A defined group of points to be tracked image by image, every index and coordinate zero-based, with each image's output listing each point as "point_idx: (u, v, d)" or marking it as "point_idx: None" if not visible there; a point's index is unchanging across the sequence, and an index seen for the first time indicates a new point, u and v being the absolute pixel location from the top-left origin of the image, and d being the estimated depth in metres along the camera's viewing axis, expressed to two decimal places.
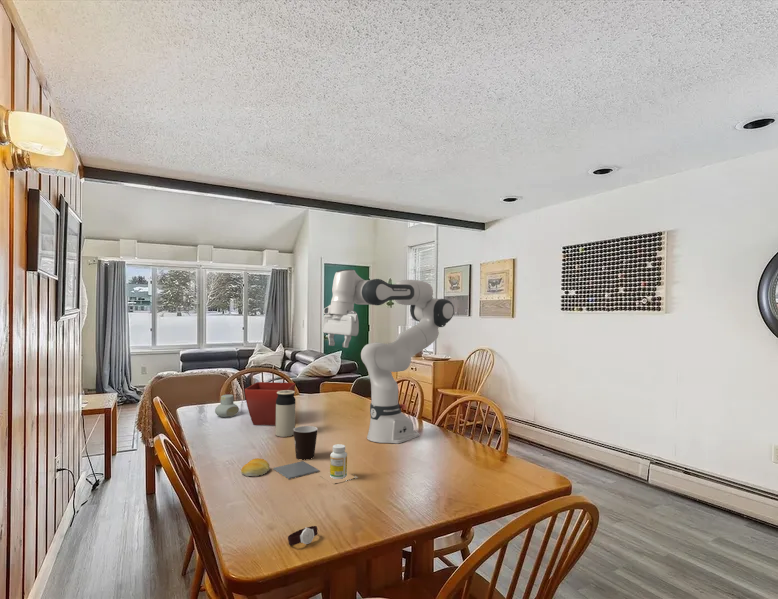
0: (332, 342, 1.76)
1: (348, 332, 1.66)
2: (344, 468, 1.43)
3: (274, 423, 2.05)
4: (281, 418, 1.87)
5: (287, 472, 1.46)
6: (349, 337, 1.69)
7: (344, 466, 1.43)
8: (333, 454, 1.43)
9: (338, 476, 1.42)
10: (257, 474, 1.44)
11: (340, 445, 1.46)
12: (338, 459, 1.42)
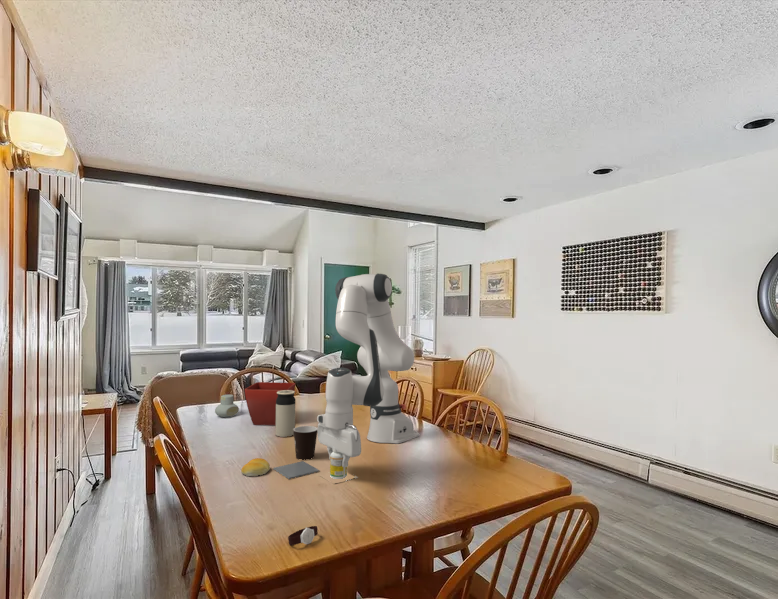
0: None
1: (348, 453, 1.37)
2: (344, 468, 1.43)
3: (274, 423, 2.05)
4: (281, 418, 1.87)
5: (287, 472, 1.46)
6: None
7: None
8: (333, 454, 1.43)
9: (338, 476, 1.42)
10: (257, 474, 1.44)
11: None
12: (338, 459, 1.42)
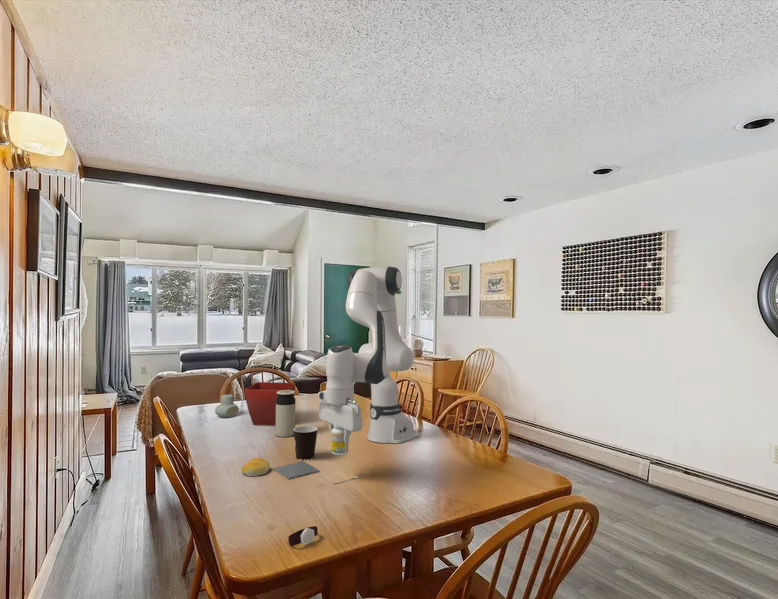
0: None
1: (350, 428, 1.38)
2: (345, 444, 1.44)
3: (274, 423, 2.05)
4: (281, 418, 1.87)
5: (287, 472, 1.46)
6: (349, 430, 1.41)
7: None
8: (334, 430, 1.44)
9: (339, 452, 1.43)
10: (257, 474, 1.44)
11: None
12: (339, 435, 1.43)
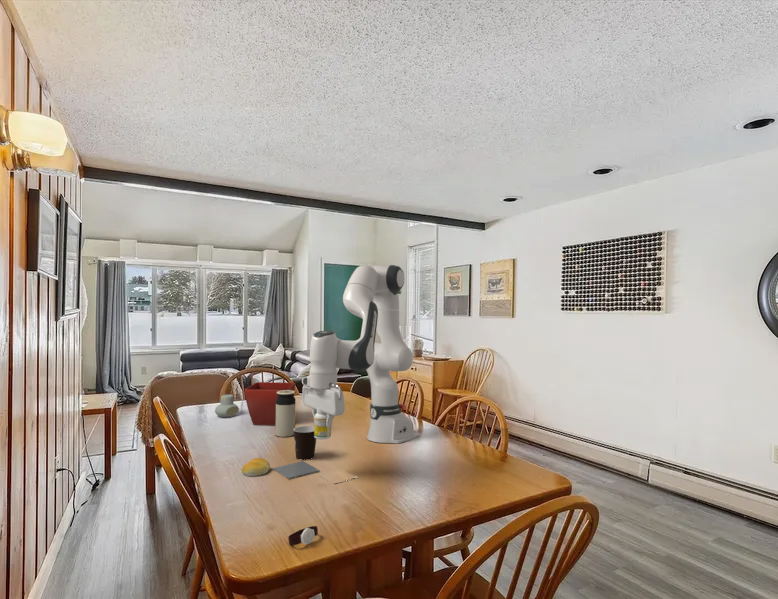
0: None
1: (332, 412, 1.39)
2: (328, 429, 1.45)
3: (274, 423, 2.05)
4: (281, 418, 1.87)
5: (287, 472, 1.46)
6: (332, 415, 1.43)
7: None
8: (317, 415, 1.45)
9: (322, 436, 1.44)
10: (257, 474, 1.44)
11: None
12: (322, 420, 1.44)
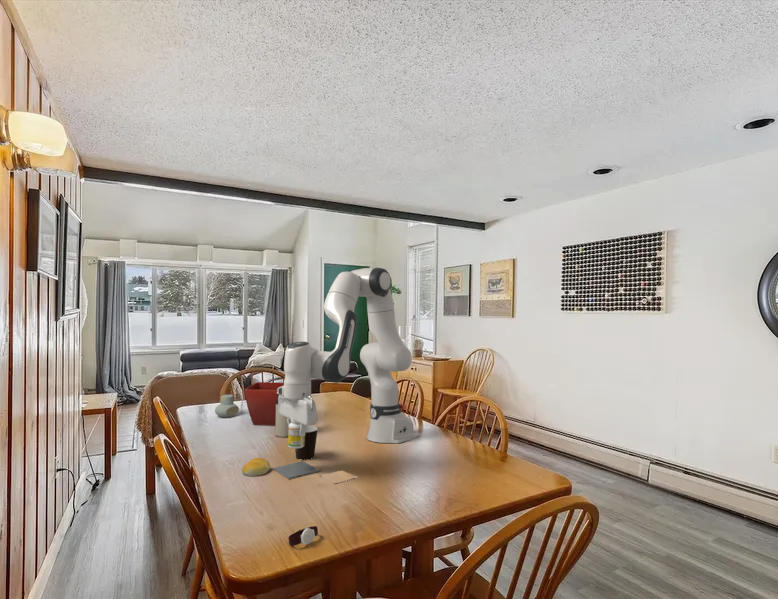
0: None
1: (304, 422, 1.42)
2: (301, 438, 1.48)
3: (274, 423, 2.05)
4: (281, 418, 1.87)
5: (287, 472, 1.46)
6: (305, 424, 1.46)
7: (302, 436, 1.48)
8: (291, 425, 1.48)
9: (295, 446, 1.47)
10: (258, 474, 1.45)
11: None
12: (295, 429, 1.47)
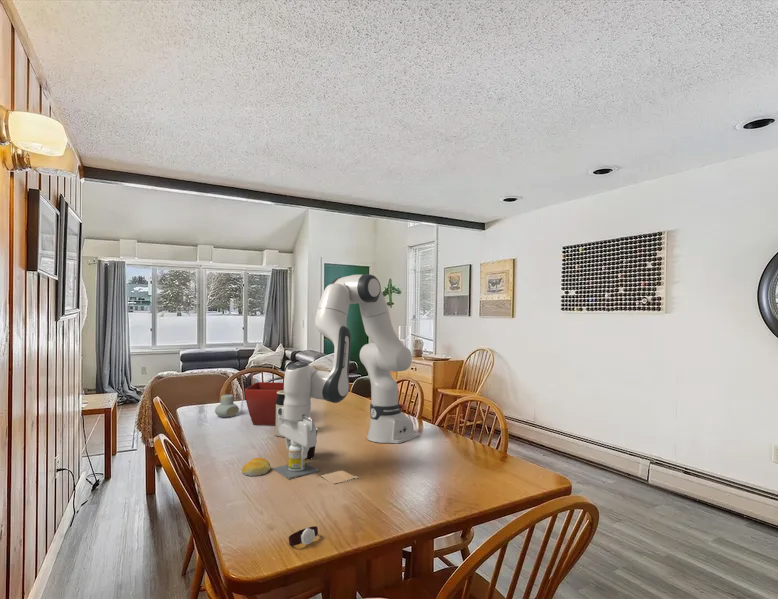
0: None
1: (304, 444, 1.42)
2: (302, 461, 1.48)
3: (274, 423, 2.05)
4: None
5: (287, 472, 1.46)
6: None
7: None
8: (291, 447, 1.48)
9: (296, 468, 1.47)
10: (258, 473, 1.45)
11: None
12: (295, 452, 1.47)
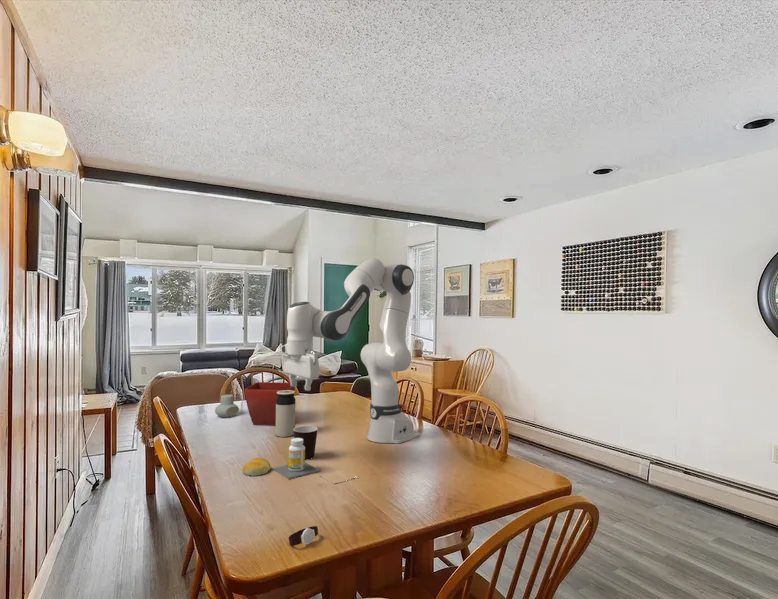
0: (294, 383, 1.61)
1: (307, 375, 1.51)
2: (302, 461, 1.48)
3: (274, 423, 2.05)
4: (281, 418, 1.87)
5: (287, 472, 1.46)
6: (310, 379, 1.53)
7: (302, 458, 1.48)
8: (291, 447, 1.48)
9: (296, 468, 1.47)
10: (258, 473, 1.45)
11: (298, 439, 1.51)
12: (295, 452, 1.47)
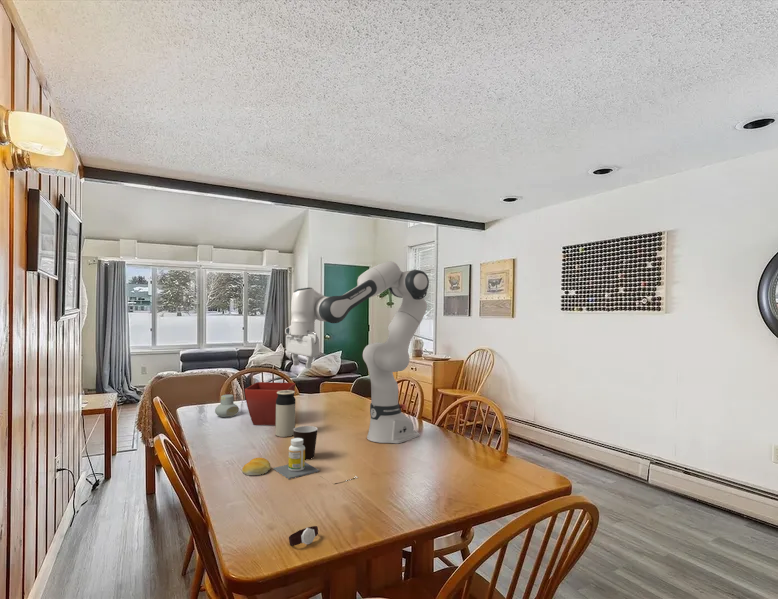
0: (296, 362, 1.75)
1: (309, 354, 1.65)
2: (302, 461, 1.48)
3: (274, 423, 2.05)
4: (281, 418, 1.87)
5: (287, 472, 1.46)
6: (311, 357, 1.68)
7: (302, 458, 1.48)
8: (291, 447, 1.48)
9: (296, 468, 1.47)
10: (258, 473, 1.45)
11: (298, 439, 1.51)
12: (295, 452, 1.47)
